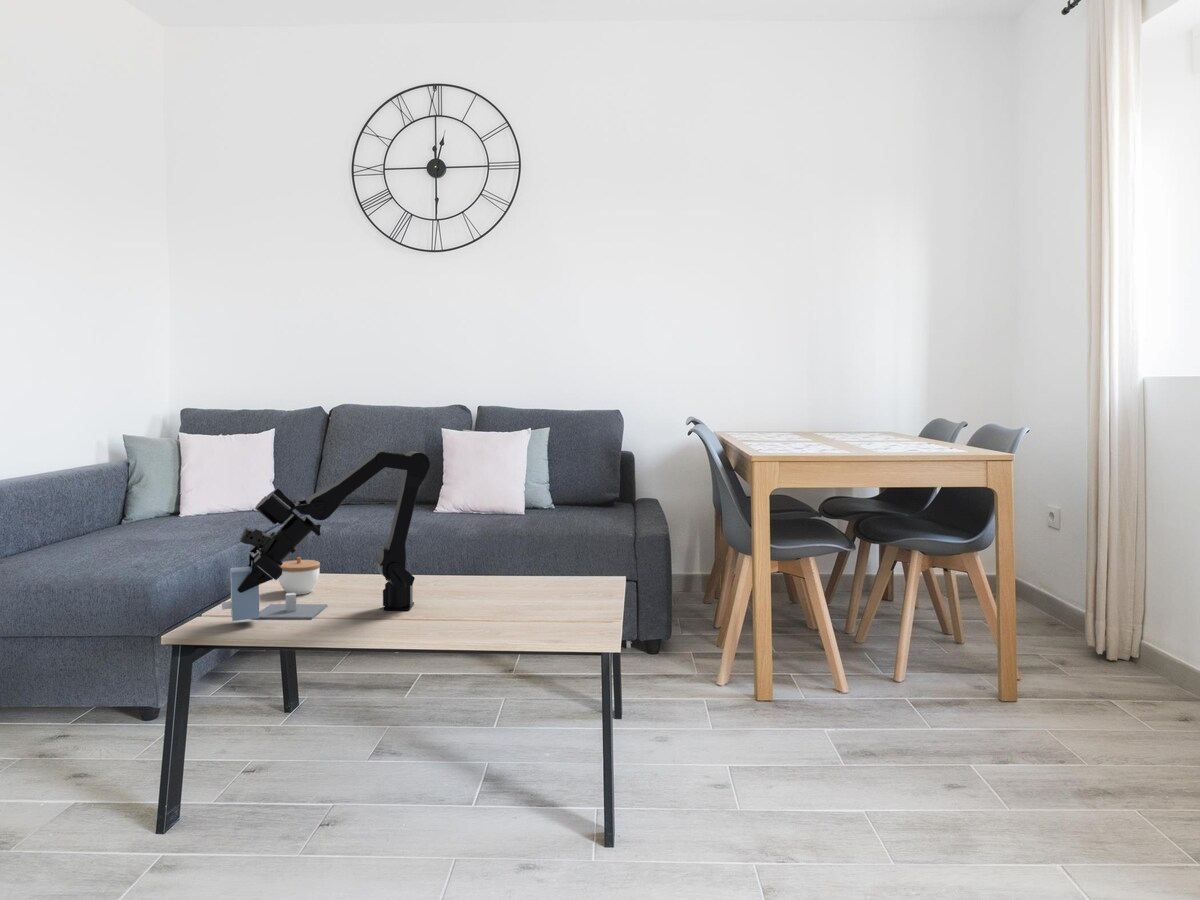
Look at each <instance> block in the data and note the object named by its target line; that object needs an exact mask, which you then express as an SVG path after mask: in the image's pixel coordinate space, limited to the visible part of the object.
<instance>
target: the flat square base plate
mask: <svg viewBox="0 0 1200 900" xmlns="http://www.w3.org/2000/svg"><path fill="white" fill-rule="evenodd" d="M284 596H285V603H270V604H269V605H267V606H265V607H264V608H263V609H261V610H259V618H255V619H254V620H313V619H314V618H315V617H317V616H318V615H319V614H320V613H322V612H323V611H324V610H325V609H326V608H327V607H328V604H327V603H324V604H323V603H318V604H317V603H313V604H312V603H299V604H298V603H297V595H296V594H295V593H287V592H286V593H285V595H284Z"/></svg>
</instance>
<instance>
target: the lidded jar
mask: <svg viewBox="0 0 1200 900" xmlns="http://www.w3.org/2000/svg"><path fill="white" fill-rule="evenodd" d="M282 563H283V564H282V565H281V567H282V575H281V576H280V577H279V578H278V583H279V585H280V586H281V588H282V589H283V590H284V591H285V592H286V594H287V593H295V594H296V596H298V595H299V596H300V595H306V594H309V593H311V592H312V590H314V588H315V587H316V586H317V584H318V581H319V579H320V567H321V562H320V561H318V560H314V559H302V557H300V556H298V557H296V559H295V560H293V559H292V560H285V561H282Z"/></svg>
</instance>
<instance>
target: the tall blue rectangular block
mask: <svg viewBox="0 0 1200 900" xmlns="http://www.w3.org/2000/svg"><path fill="white" fill-rule="evenodd" d="M250 571H251V566H249V567H247V566H239V567H238V566H237V567H230V571H229V574H230V576H229V577H230V601H222V602H221V610H230V617H231V621H232V622H234V621H245V620H246V621H247V620H256V619H255V618H259V612H260V589H259V588H260V585H258V586H255V587H253V588H251V589H249V590H246V591H244V592H242V593H240V592H239V591H238V590H237V589H238V588H239V586H240V585H241V583H242V582H243V581H244V579H245V578H246V577H247V575H248V574H249V572H250Z"/></svg>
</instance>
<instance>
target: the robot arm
mask: <svg viewBox="0 0 1200 900" xmlns="http://www.w3.org/2000/svg"><path fill="white" fill-rule="evenodd" d="M385 468H388V469H396V470H400V474H399V475H400V489H399V494H398V497H397V503H396V507H395V510H394V514H393V518H392V523H391V527H390V531H389V535H388V539H387V542H386V543H385V544H384V546H382V545H378V547H377V556H376V557H375V559H374V562H375V563H376V569H377V571H378V572H379V574H381V575H382V576H383V577H384V579H385V581H387V582H386V583H385V584H384V589H383V590H382V607H383V608H382V609H383V611H410V610H411V609H412V608H413V607H414V605H415V602H413V598H414V597H413V596H414V594H413V592H414V590H413V587H414V586H413V585H414V582H415V579H416V578H415V576H414V575H413V574H411V573H410V572H409V571H408V570H407V569H406V567H407V550H406V547H407V546H406V542H407V539H408V534H409V530H410V526H411V521H412V519H413V513H414V510H415V507H416V506H415V505H416V502H417V497H418V492H419V489H420V487H421V486H422V485H423V483H424V481H425V480H426V477H427V475H428V473H429V471H430V468H431V460H430V458H429V457H428V456H427V454H425V453H422V452H418V451H414V450H411V451H408V452H406V453H398V452H387V451H384V450H376V451H375V452H374V453H373V454H372V455H371V456H370V457H369V458H367V459H366V460H365V461H363V462H362V463H361V464H359V465H358V466H356V467H355V468H354V469H352V471H350V472H348V473H347V474H346V475H345V476H343V477H342V478H341V479H339V480H338V481H337V482H336V483H334V484H332V485H330V486H327V487H324V488H323V489H321V490H319V491H316V492H315V493H313V494H311V495H309V497H307V498H306V499H302V500H297V501H292V500H291V499H290V498H289V497H288V496H286V495H285V494H284V492H283V490H280V489H279V488H278V487H276V488H275V489H274V490H273V491H271V492H270V493H269V494H267V495H265V496H263V498H262V499H261V500H260V501H259V502H258V503H257V504H256V506H255V508H254V510H256V511H257V512H258V513H259V514H260V515H261V516H263V517H264V518H265V519H266V520H267V521H268V522H270V523H271V524H272V525H276V524H279V525H282V524H283V525H282V526H281V527H279V529H278V530H277V531H272V532H271V533H270V534H267V533H264V532H263V530H260V529H258V528H252V527H251V528H250V527H247V526H244V529H243V531H242V533H241V535H240V537H239V542H241V543H242V544H245V545H250V546H251V547H250V548H249V553H248V564H247V566H246V567H249V566H251V571H250V572H249V574H248V575H247V577H246V578H245V579H244V581H243V582H242V583H241V585H240V586H239V588H238V589H237V590H238V591H239V592H240V593H242V592H244V591H246V590H249V589H251V588H253V587H255V586H258V585H259V586H260V585H262V584H264V583H266V582H269V581H272V580H274V581H277V580H279V577H280V576H281V575H282V567H281V565H282V564H283V563H282V562H284V561H285V560H286V558H288V557H289V556H290V554H294V553H295V552H296V551H297V550H296V548H297V547H299V545H300V544H301V543H302V542H303V541H304V540H305V539H306V538H307V537H308V536H309V535H310V534H311V533H312V532H313V533H314V534H315V535H316V536H318V537H320V536H321V534H322V533H321V527H322V526H321V525H322V524H321V523H318V522H317V523H314V522H313V521H312V520H311V519H313V520H316V521H324V520H328V519H329V518H330V517H331V516H332V515H333V513H335V512H336V510H338V508H339V507H340V506H341V504H342V503H343V502H344V500H345V499H346V498H347V497H348V496H349V495H351V494H352V493H354V492H356V490H357V489H359V488H360V487H361V486H363V485H364V484H365V483H366V482H368V481H369V480H371V479H372V478H373V477H374V476H376V475H377V474H378V473H379V472H381V471H383V469H385ZM294 510H296V511H297V512H299V514H301V515H308V516H309V517H311V518H309V517H308V516H303V517H300V516H299V515H298V514H297V513H296V512H295V511H294Z"/></svg>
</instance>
